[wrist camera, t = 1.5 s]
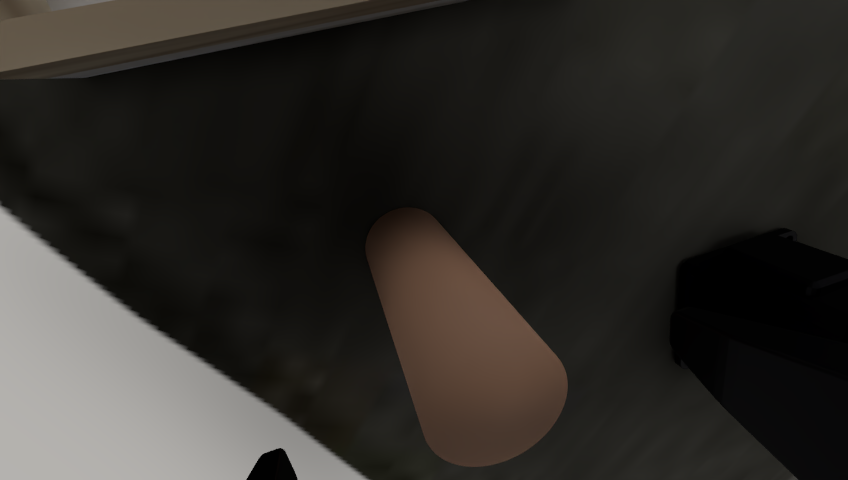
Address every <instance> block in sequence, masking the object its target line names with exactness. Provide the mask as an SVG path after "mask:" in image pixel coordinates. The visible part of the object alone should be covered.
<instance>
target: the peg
mask: <svg viewBox="0 0 848 480" xmlns="http://www.w3.org/2000/svg"><path fill="white" fill-rule="evenodd" d="M365 253H366V258H367V261H368V264H369V267H370V270H371V273H372V276H373V279H374V282H375V285H376V289H377V292H378V295H379V298H380V301H381V304H382V307H383V310H384V313H385V316H386V320H387V323H388V326H389V329H390V332H391V335H392V338H393V341H394V344H395V347H396V351H397V354H398V357H399V360H400V363H401V366H402V369H403V372H404V375H405V378H406V382H407V385H408V388H409V391H410V394H411V397H412V400H413V403H414V406H415V409H416V413H417V416H418V419H419V422H420V425H421V428H422V431H423V434H424V437H425V440H426V442H427V443H428V445H429V447H430V448H431V449H432V450H433V452H434V453H435V454H437V455H438V456H439V457H440V458H442V459H444V460H446V461H447V462H450V463H453V464H456V465H460V466H467V467H481V466H489V465H493V464H498V463H501V462H504V461H507V460H509V459H511V458H514V457H516V456H518V455H519V454H521V453H523V452H525V451H526V450H528V449H529V448H531V447H532V446H533V445H534V444H536V443H537V442H538V441H539V440H540V439H541V438H542V437H544V436H545V435H546V433H547V432H548V431H549V430H550V429H551V428H552V426H553V425H554V423H555V422H556V421H557V419H558V417H559V415H560V413H561V411H562V409H563V407H564V404H565V400H566V397H567V390H568V381H567V374H566V371H565V368H564V366H563V364H562V363H561V361H560V360H559V358H558V357H557V356H556V355H555V353H554V352H553V351H552V350H551V349H550V348H549V347H548V346H547V344H546V343H545V342H544V341H543V340H542V339H541V338H540V337H539V335H538V334H537V333H536V332H535V331H534V330H533V329H532V327H531V326H530V325H529V324H528V323H527V322H526V321H525V320H524V318H523V317H522V316H521V315H520V314H519V313H518V312H517V310H516V309H515V308H514V307H513V306H512V305H511V304H510V303H509V301H508V300H507V299H506V298H505V297H504V296H503V295H502V293H501V292H500V291H499V290H498V289H497V288H496V287H495V286H494V284H493V283H492V282H491V281H490V280H489V279H488V278H487V276H486V275H485V274H484V273H483V272H482V271H481V270H480V269H479V267H478V266H477V265H476V264H475V263H474V262H473V261H472V260H471V258H470V257H469V256H468V255H467V254H466V253H465V252H464V250H463V249H462V248H461V247H460V246H459V245H458V244H457V243H456V241H455V240H454V239H453V238H452V237H451V236H450V235H449V233H448V232H447V231H446V230H445V229H444V228H443V227H442V226H441V224H440V223H439V222H438V221H437V220H436V219H435V218H434V217H433V216H432V215H431V214H429V213H428V212H426V211H424V210H421V209H418V208H412V207H404V208H398V209H395V210H392V211H390V212H388V213H386V214H384V215H383V216H381V217H380V218H379V219H378V220H377V221H376V222H375V223H374V225H373V226H372V227H371V229H370V231H369V233H368V236H367V239H366V244H365Z"/></svg>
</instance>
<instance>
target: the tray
mask: <svg viewBox="0 0 848 480" xmlns="http://www.w3.org/2000/svg"><path fill="white" fill-rule="evenodd" d="M464 1H469V0H0V79H51V78H86V77H91V76H96V75H101V74H106V73H111V72H116V71H121V70H126V69H131V68H136V67H141V66H146V65H151V64H156V63H161V62H166V61H171V60H176V59H181V58H186V57H191V56H196V55H201V54H206V53H211V52H216V51H221V50H226V49H231V48H236V47H241V46H245V45H250V44H255V43H260V42H265V41H270V40H275V39H280V38H285V37H290V36H295V35H300V34H305V33H310V32H315V31H320V30H325V29H330V28H335V27H340V26H345V25H350V24H355V23H360V22H365V21H370V20H375V19H380V18H385V17H390V16H395V15H400V14H405V13H409V12H414V11H419V10H424V9H429V8H434V7H439V6H444V5H449V4H454V3H459V2H464Z"/></svg>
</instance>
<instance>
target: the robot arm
mask: <svg viewBox="0 0 848 480" xmlns="http://www.w3.org/2000/svg"><path fill="white" fill-rule="evenodd" d="M796 240H797V233H796V232H795V231H792V230H789V229H786V228H783V229H780V230H777V231H774V232H770V233H767V234H764V235H761V236H758V237H755V238H752V239H749V240H746V241H743V242H740V243H737V244H734V245H731V246H728V247H725V248H722V249H719V250H716V251H713V252H710V253H707V254H704V255H701V256H698V257H695V258H692V259H689V260H687V261H685V262H684V263H683V264H682V266H681V268H680V275H679V292H678V310H677V311H675V312H673V313H672V315H671V320H670V344H671V346H672V348H673V350H674V351H675V362H676V363H677V364H678V365H679V366H680V367H682V368H683V369H687V368H689V369H690V370H691V371H692V372H693V373H694V374H695V376H696V377H697V378H698V379H699V380H700V381H701V383H702V384H703V385H704V386H705V387H706V388H707V389H708V391H709V392H710V393H711V394H712V395H713V396H714V397H715V399H716V400H717V401H718V402H719V403H720V404H721V405H722V406H723V407H724V408H725V409H726V410H727V411H728V412H729V413H730V414H731V415H732V416H733V417H734V418H735V419H736V420H737V421H738V422H739V423H740V424H741V425H742V426H743V427H744V428H745V429H746V430H747V431H748V432H749V433H751V434H752V435H753V436H754V437H755V438H756V439H757V440H758V441H759V442H760V443H761V444H762V445H763V446H764V447H765V448H766V449H767V450H768V451H769V452H770V453H771V454H772V455H773V456H774V457H775V458H776V459H777V460H778V461H780V462H781V463H782V464H783V465H784V466H785V467H786V468H787V469H788V470H789V471H790V472H791V473H792V474H793V475H794V476H795V477H796V478H797V479H798V480H848V259H845V258H842V257H840V256H837V255H834V254H831V253H828V252H825V251H822V250H819V249H816V248H813V247H810V246H807V245H805V244H802V243H799V242H796ZM247 480H297V477H296V474H295V471H294V469H293V467H292V465H291V463H290V461H289V458H288V456H287V454H286V452H285V451H284V450H283V449H281V448H279V449H276V450H273V451H270V452H267V453H264V454H263V455H262V456H261V457H260V458H259V459H258V461H257V463H256V464H255V466H254V468H253V470H252V471H251V473H250V474H249V476H248V478H247Z"/></svg>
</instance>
